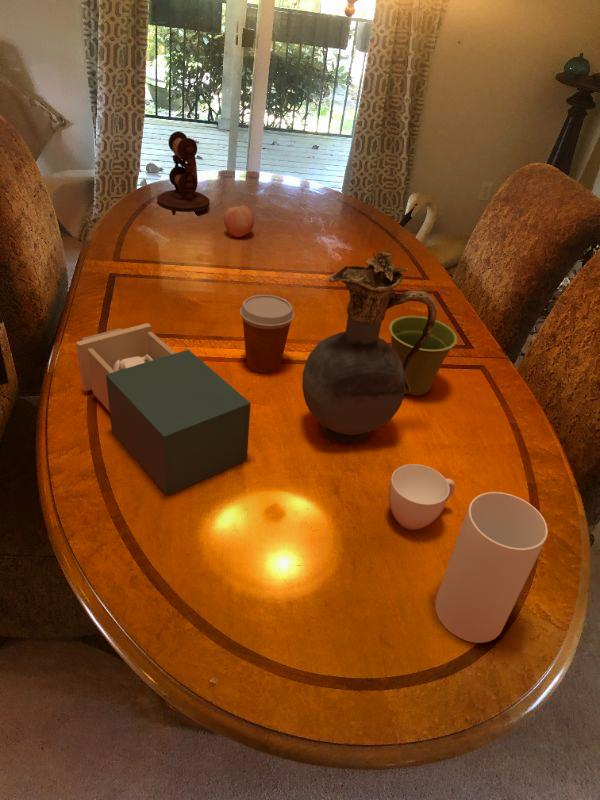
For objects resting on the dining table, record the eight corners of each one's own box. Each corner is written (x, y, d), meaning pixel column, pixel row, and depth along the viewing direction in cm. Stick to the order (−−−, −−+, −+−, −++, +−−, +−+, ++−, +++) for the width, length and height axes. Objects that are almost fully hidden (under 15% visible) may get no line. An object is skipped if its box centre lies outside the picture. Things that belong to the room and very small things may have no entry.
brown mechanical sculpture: (217, 214, 175) (219, 140, 164) (168, 219, 169) (165, 142, 157) (197, 197, 185) (197, 127, 174) (150, 201, 179) (146, 128, 167)
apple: (247, 229, 168) (249, 200, 164) (257, 240, 163) (259, 210, 158) (219, 231, 165) (220, 201, 161) (228, 242, 160) (229, 211, 155)
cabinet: (111, 432, 94) (105, 374, 88) (188, 404, 102) (188, 349, 96) (166, 496, 84) (163, 436, 78) (247, 460, 92) (250, 402, 86)
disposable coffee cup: (296, 374, 112) (303, 315, 105) (247, 381, 109) (250, 321, 102) (278, 347, 119) (283, 291, 112) (231, 353, 116) (233, 296, 109)
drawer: (68, 372, 104) (62, 327, 99) (136, 353, 111) (133, 309, 106) (126, 438, 92) (121, 390, 87) (197, 412, 99) (197, 366, 94)
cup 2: (423, 616, 73) (456, 522, 63) (451, 572, 78) (485, 480, 69) (489, 656, 69) (534, 563, 60) (513, 607, 75) (557, 515, 66)
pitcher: (290, 412, 103) (309, 240, 85) (396, 405, 107) (435, 240, 90) (306, 455, 94) (331, 273, 77) (421, 445, 99) (469, 271, 81)
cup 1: (372, 505, 87) (380, 470, 83) (431, 490, 91) (441, 455, 87) (401, 546, 81) (411, 510, 77) (462, 527, 85) (475, 492, 81)
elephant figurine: (149, 373, 104) (147, 343, 101) (164, 399, 99) (163, 368, 95) (109, 381, 101) (105, 350, 98) (122, 408, 96) (119, 377, 92)
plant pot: (368, 389, 110) (378, 335, 104) (391, 361, 119) (402, 309, 113) (430, 412, 106) (446, 357, 100) (450, 381, 115) (465, 328, 109)
